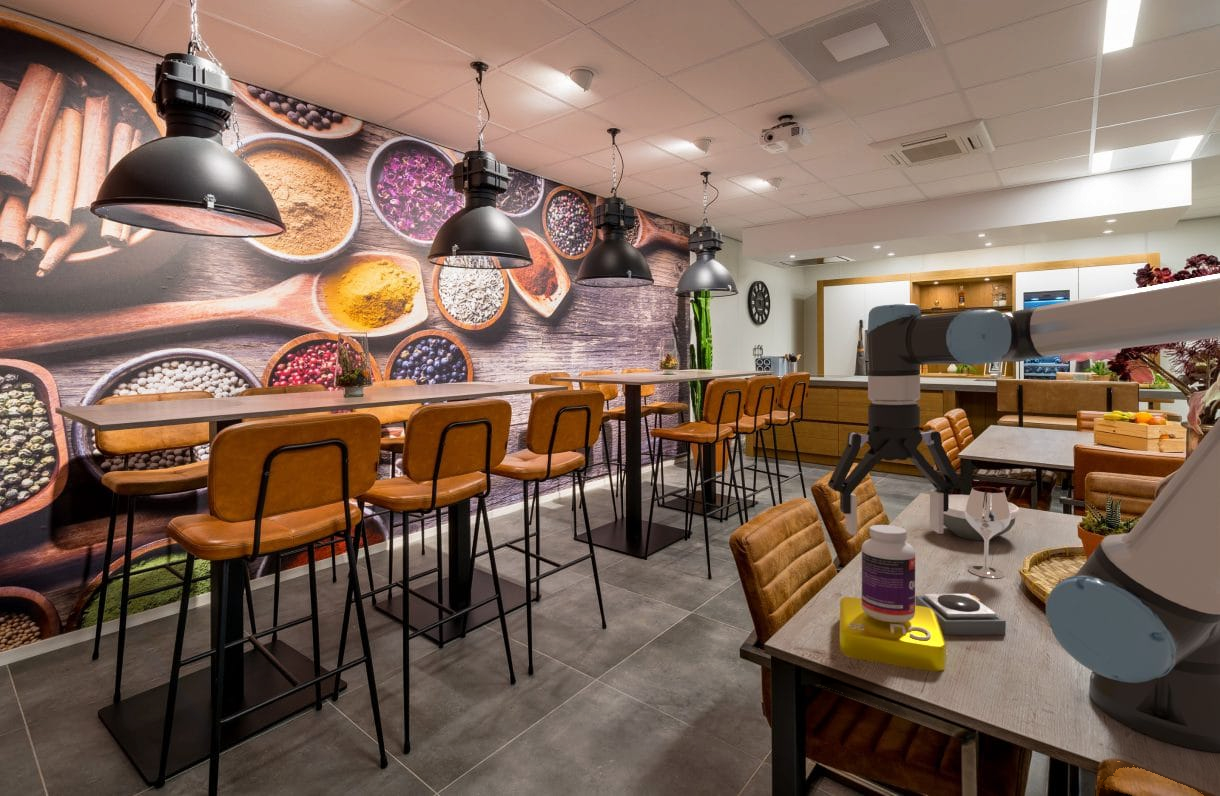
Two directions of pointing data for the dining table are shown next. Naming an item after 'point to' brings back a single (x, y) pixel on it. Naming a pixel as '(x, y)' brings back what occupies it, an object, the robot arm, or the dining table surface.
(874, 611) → the pill bottle
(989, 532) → the wineglass
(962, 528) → the bowl
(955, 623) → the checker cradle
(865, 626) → the element tile
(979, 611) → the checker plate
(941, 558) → the dining table surface
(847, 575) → the dining table surface
